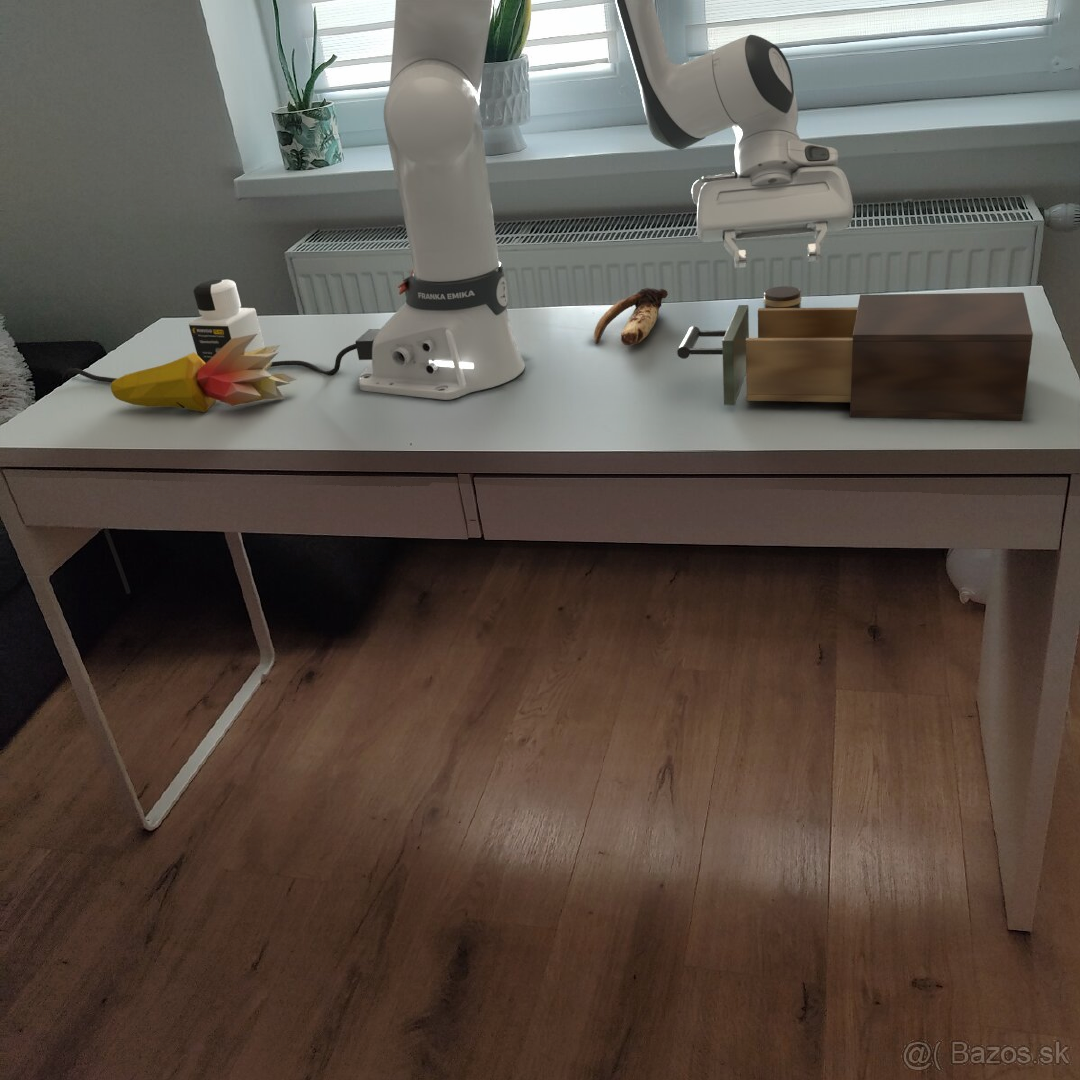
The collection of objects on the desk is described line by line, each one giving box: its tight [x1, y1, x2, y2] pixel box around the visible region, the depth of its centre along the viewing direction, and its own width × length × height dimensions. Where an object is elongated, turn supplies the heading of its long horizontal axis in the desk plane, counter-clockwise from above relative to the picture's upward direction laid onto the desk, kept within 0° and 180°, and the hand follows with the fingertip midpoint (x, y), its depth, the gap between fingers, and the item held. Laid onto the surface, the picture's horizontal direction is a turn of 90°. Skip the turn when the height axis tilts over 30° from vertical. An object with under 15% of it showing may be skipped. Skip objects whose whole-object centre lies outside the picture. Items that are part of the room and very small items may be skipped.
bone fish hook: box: [593, 287, 669, 346], centre depth 150 cm, size 9×5×18 cm
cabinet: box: [849, 291, 1034, 421], centre depth 119 cm, size 18×14×10 cm
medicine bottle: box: [188, 278, 266, 363], centre depth 156 cm, size 7×7×12 cm
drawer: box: [676, 304, 858, 406], centre depth 124 cm, size 22×12×8 cm, turn 73°
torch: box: [110, 334, 298, 413], centre depth 142 cm, size 8×8×25 cm
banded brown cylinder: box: [763, 285, 802, 308], centre depth 136 cm, size 5×5×8 cm
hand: (777, 262), depth 139 cm, fingers open, 8 cm apart
